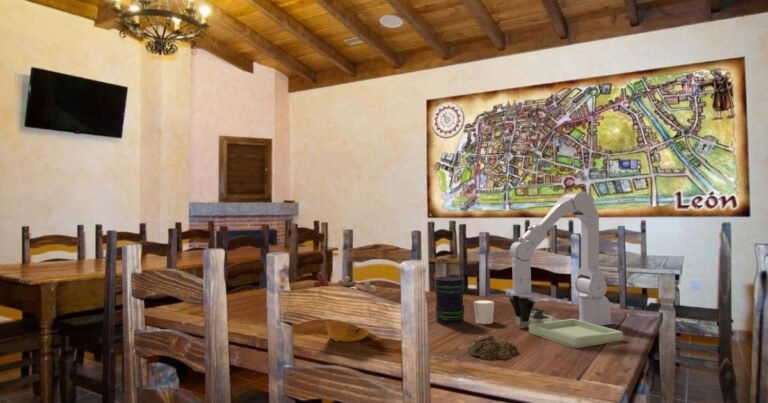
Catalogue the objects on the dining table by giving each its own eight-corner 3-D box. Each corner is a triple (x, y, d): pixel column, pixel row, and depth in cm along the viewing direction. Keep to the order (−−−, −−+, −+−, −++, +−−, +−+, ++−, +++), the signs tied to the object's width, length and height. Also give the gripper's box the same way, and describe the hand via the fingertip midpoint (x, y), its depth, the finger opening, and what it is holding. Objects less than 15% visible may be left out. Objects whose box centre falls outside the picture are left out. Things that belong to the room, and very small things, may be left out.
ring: (539, 317, 162) (539, 310, 162) (558, 323, 154) (558, 315, 154) (508, 321, 157) (508, 314, 157) (526, 327, 149) (526, 319, 149)
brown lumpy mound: (481, 344, 136) (481, 327, 136) (522, 352, 128) (522, 333, 129) (458, 355, 126) (458, 337, 127) (501, 364, 119) (501, 344, 119)
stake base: (547, 319, 165) (546, 303, 165) (570, 326, 155) (570, 308, 155) (516, 323, 160) (516, 306, 160) (539, 330, 150) (538, 312, 150)
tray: (573, 326, 155) (572, 318, 155) (622, 340, 137) (622, 331, 137) (528, 332, 148) (528, 324, 148) (575, 348, 130) (574, 339, 130)
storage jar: (463, 318, 169) (462, 276, 169) (465, 325, 159) (464, 280, 159) (435, 318, 170) (434, 276, 170) (435, 324, 160) (434, 280, 160)
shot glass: (494, 324, 159) (494, 303, 159) (474, 324, 160) (473, 303, 160) (494, 320, 165) (493, 300, 165) (474, 319, 167) (473, 299, 167)
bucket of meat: (384, 332, 151) (383, 269, 151) (370, 346, 135) (369, 276, 135) (326, 329, 156) (325, 268, 156) (305, 343, 140) (304, 275, 140)
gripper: (498, 276, 160) (498, 317, 159) (526, 282, 146) (527, 326, 146) (515, 275, 162) (516, 315, 162) (544, 280, 149) (545, 324, 149)
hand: (522, 320), depth 154 cm, fingers closed on ring, 2 cm apart
